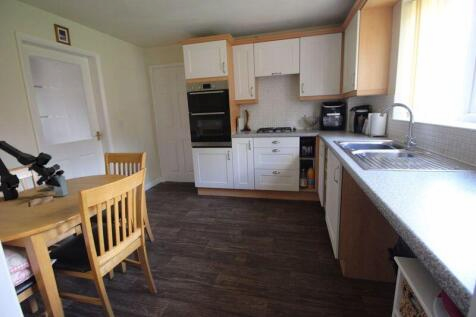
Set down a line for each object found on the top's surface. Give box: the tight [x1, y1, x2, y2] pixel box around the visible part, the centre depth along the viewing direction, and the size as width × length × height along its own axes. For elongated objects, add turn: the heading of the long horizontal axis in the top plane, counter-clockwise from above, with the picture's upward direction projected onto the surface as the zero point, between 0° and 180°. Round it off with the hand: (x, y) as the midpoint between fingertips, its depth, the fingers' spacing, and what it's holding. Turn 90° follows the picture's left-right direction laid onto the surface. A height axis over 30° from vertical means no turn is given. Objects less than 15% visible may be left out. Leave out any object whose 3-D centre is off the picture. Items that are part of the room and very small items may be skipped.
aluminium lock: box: [53, 175, 68, 197], centre depth 152 cm, size 4×5×13 cm
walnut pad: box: [29, 195, 55, 207], centre depth 144 cm, size 11×10×1 cm
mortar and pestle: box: [46, 185, 55, 192], centre depth 167 cm, size 11×9×12 cm
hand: (62, 185), depth 152 cm, fingers closed on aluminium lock, 4 cm apart
